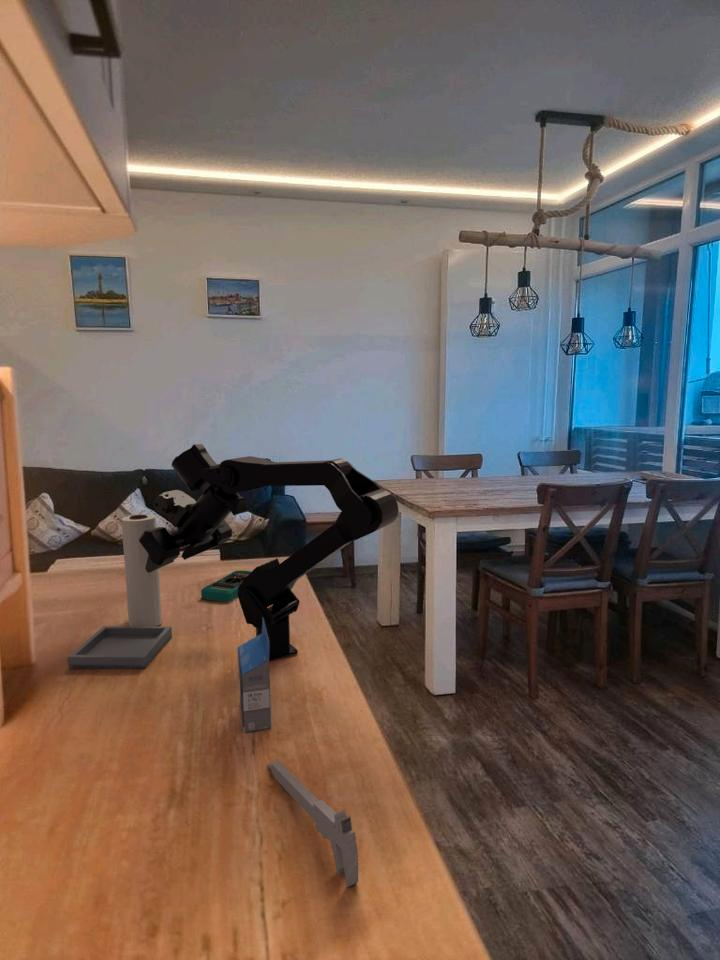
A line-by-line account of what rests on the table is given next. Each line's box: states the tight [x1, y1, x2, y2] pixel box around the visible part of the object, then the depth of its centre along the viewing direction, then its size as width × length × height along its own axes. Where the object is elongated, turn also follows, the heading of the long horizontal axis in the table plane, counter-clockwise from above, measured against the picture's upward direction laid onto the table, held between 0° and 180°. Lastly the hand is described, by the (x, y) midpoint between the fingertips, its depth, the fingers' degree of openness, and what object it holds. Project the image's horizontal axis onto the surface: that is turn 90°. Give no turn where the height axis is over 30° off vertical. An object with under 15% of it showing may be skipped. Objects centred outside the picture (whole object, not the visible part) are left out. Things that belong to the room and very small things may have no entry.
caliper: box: [266, 760, 359, 888], centre depth 61 cm, size 20×1×6 cm, turn 30°
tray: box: [67, 625, 173, 670], centre depth 101 cm, size 13×13×2 cm
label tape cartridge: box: [237, 617, 272, 734], centre depth 80 cm, size 9×4×12 cm, turn 15°
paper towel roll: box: [121, 513, 163, 626], centre depth 112 cm, size 7×6×21 cm
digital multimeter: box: [200, 570, 252, 603], centre depth 132 cm, size 7×15×3 cm, turn 161°
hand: (165, 563), depth 109 cm, fingers open, 9 cm apart
